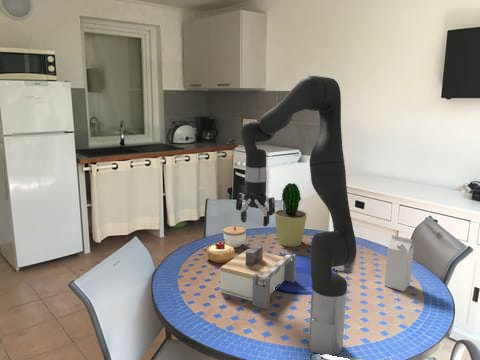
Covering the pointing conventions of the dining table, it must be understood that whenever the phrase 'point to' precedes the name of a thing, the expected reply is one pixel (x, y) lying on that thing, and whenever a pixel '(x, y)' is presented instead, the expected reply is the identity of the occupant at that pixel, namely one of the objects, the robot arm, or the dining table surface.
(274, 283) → the white open box
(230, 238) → the lidded jar
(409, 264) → the milk carton
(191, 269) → the dining table surface
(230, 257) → the pastry
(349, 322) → the dining table surface
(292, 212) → the potted cactus
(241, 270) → the door
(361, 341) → the dining table surface
